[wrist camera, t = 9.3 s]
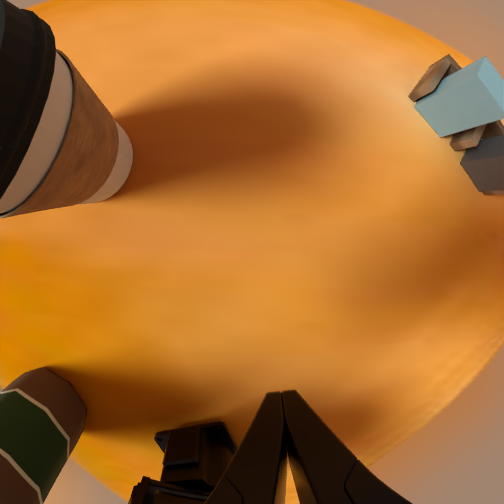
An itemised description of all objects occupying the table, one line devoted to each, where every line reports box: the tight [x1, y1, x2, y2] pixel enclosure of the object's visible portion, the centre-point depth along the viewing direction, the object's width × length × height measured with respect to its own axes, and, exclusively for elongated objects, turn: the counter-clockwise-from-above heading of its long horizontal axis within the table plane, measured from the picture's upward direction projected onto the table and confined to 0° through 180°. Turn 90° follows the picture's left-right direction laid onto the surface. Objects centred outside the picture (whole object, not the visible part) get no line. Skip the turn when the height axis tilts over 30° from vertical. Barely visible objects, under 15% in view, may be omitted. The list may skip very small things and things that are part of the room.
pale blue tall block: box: [414, 56, 504, 138], centre depth 15 cm, size 3×4×8 cm
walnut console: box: [408, 54, 504, 195], centre depth 18 cm, size 6×12×3 cm, turn 50°
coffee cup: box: [0, 0, 133, 218], centre depth 10 cm, size 8×8×15 cm
